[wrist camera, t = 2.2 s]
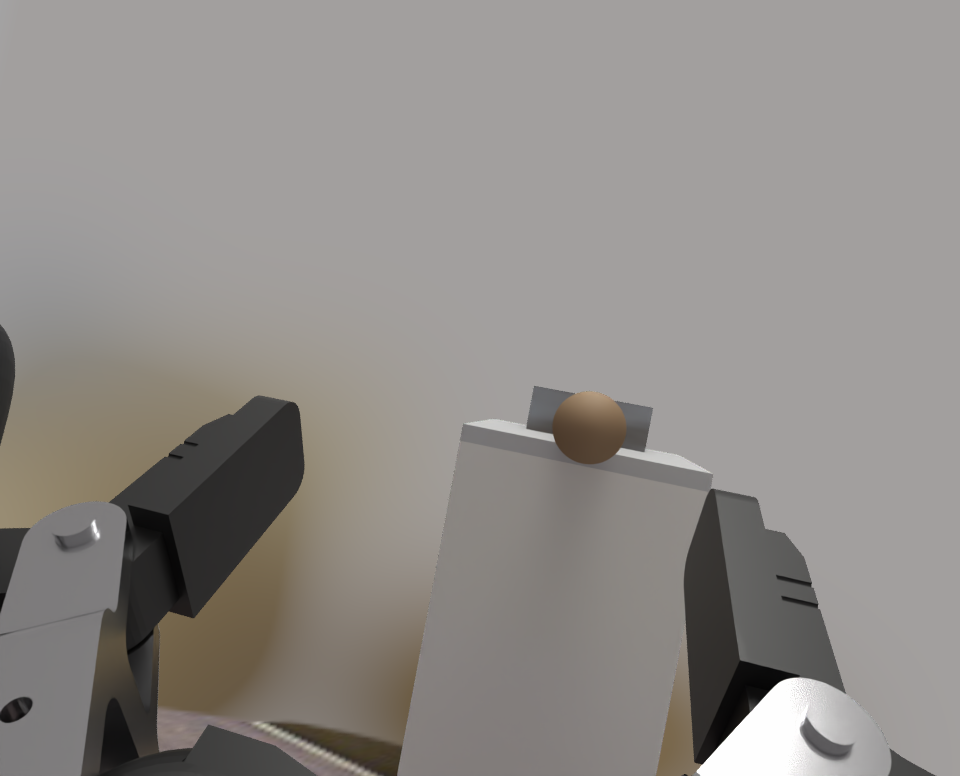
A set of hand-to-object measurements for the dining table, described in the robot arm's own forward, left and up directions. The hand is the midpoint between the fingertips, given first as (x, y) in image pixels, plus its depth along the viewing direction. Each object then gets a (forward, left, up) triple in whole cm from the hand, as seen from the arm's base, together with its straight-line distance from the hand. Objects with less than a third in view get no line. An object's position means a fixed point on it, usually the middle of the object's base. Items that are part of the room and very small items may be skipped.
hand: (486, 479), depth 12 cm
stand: (+2, +29, -33) cm, 43 cm away
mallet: (+2, +24, -1) cm, 24 cm away
